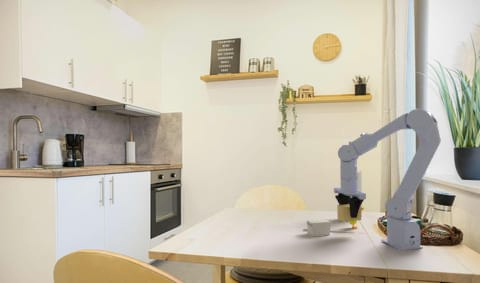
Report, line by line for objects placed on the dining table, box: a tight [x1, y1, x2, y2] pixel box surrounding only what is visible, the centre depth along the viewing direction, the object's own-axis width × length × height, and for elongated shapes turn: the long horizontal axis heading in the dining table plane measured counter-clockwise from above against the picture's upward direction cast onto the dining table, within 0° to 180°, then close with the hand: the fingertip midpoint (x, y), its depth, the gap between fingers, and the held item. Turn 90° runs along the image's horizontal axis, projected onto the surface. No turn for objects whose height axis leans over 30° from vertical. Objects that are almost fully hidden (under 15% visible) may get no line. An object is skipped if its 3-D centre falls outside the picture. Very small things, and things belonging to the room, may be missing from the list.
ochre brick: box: [336, 204, 362, 222], centre depth 110 cm, size 4×7×5 cm, turn 103°
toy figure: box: [348, 206, 365, 230], centre depth 121 cm, size 7×4×12 cm, turn 61°
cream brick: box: [306, 218, 331, 237], centre depth 112 cm, size 4×7×5 cm, turn 103°
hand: (349, 216), depth 110 cm, fingers closed on ochre brick, 4 cm apart
